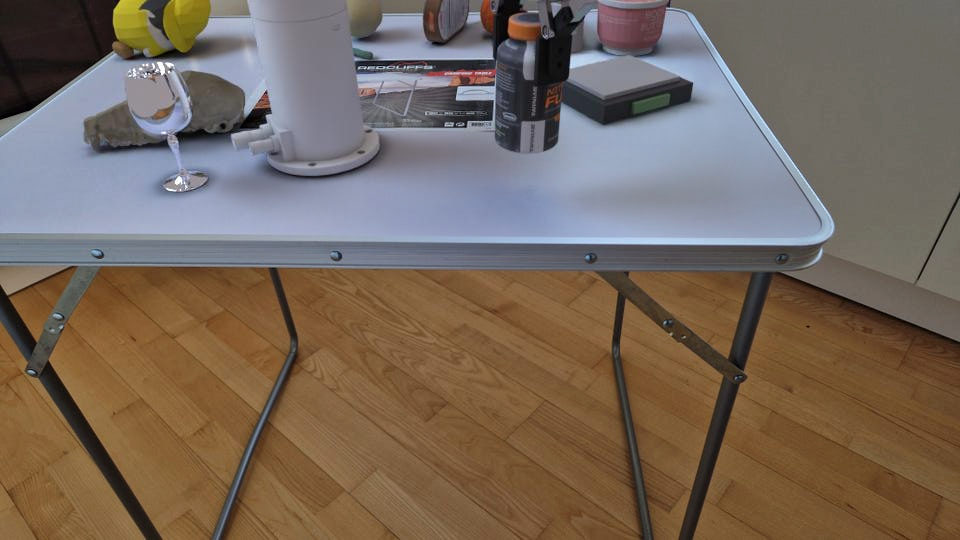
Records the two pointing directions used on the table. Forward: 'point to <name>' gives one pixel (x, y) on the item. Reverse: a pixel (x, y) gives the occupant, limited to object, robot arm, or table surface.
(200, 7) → the toy
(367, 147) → the robot arm
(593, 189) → the table surface
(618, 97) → the scale
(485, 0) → the fruit
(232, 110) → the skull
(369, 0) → the potato
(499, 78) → the pill bottle
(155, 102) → the wineglass
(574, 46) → the grey hollow cylinder
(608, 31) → the container
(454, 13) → the tin
